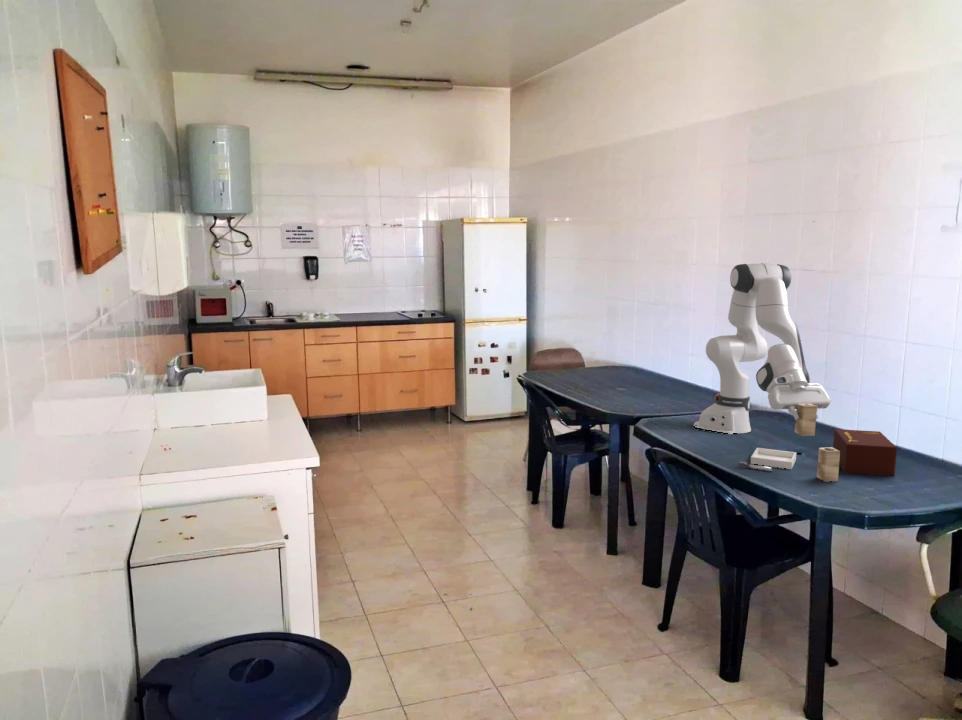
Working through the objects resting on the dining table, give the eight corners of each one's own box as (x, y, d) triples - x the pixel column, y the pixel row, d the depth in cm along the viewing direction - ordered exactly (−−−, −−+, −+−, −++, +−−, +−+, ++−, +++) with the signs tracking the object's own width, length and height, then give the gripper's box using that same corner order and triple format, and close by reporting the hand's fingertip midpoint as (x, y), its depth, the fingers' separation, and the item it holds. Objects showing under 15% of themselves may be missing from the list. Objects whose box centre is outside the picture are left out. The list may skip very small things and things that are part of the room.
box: (899, 476, 240) (902, 447, 238) (844, 472, 244) (846, 444, 242) (882, 458, 260) (884, 431, 258) (832, 455, 264) (834, 428, 262)
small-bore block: (794, 432, 247) (796, 403, 245) (807, 431, 247) (809, 403, 246) (801, 435, 242) (804, 406, 241) (814, 435, 243) (817, 406, 241)
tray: (750, 463, 254) (750, 457, 253) (756, 454, 265) (757, 447, 265) (791, 469, 247) (791, 462, 247) (796, 459, 259) (796, 452, 258)
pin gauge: (738, 467, 249) (738, 462, 249) (739, 466, 251) (739, 461, 251) (771, 472, 244) (771, 467, 244) (771, 470, 246) (772, 465, 246)
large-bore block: (816, 477, 239) (818, 447, 237) (829, 476, 240) (831, 447, 238) (824, 481, 235) (827, 451, 233) (837, 481, 235) (840, 451, 234)
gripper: (817, 388, 255) (831, 422, 247) (761, 389, 253) (774, 424, 245) (825, 378, 250) (840, 413, 242) (769, 379, 248) (782, 414, 240)
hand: (806, 418), depth 243 cm, fingers closed on small-bore block, 4 cm apart
